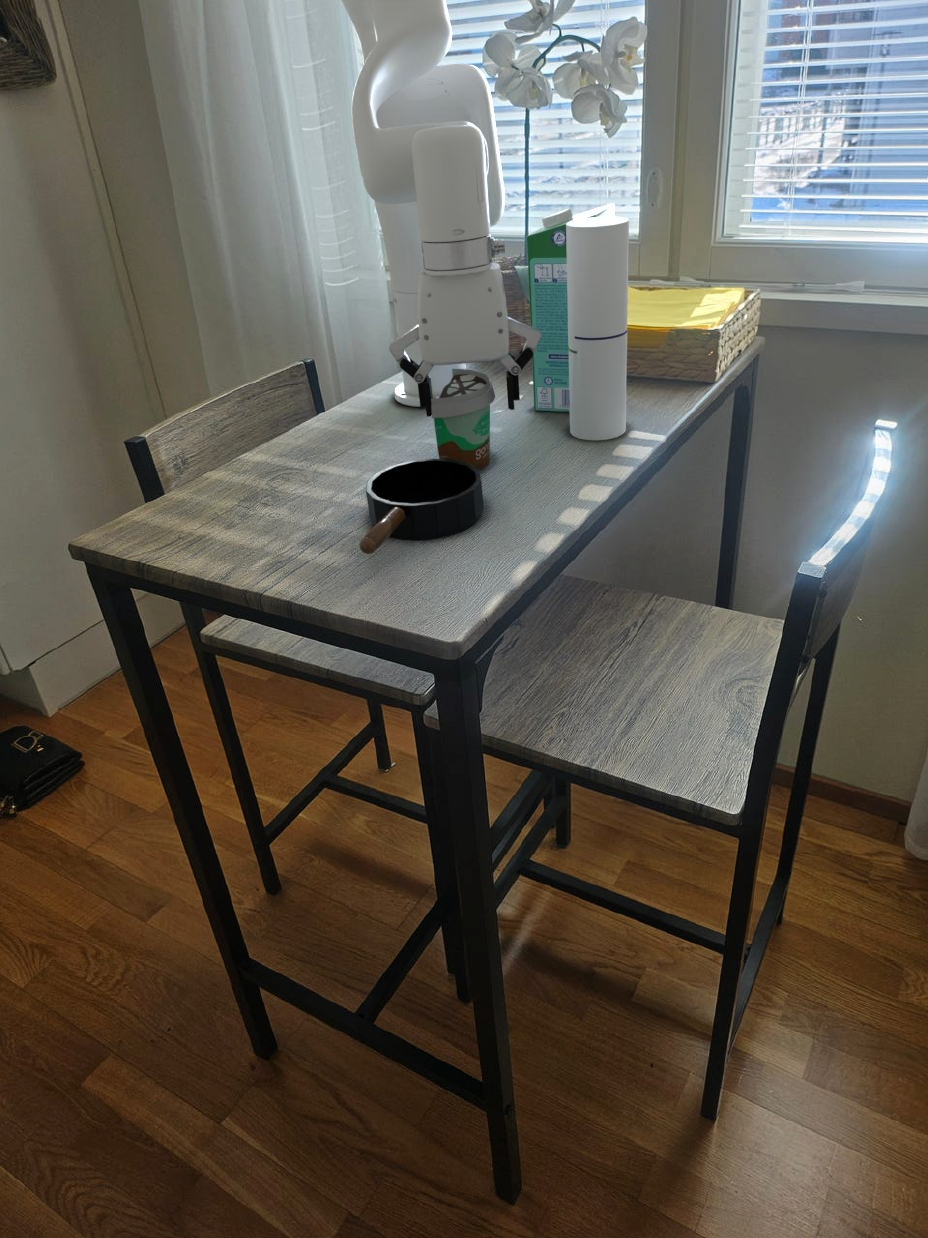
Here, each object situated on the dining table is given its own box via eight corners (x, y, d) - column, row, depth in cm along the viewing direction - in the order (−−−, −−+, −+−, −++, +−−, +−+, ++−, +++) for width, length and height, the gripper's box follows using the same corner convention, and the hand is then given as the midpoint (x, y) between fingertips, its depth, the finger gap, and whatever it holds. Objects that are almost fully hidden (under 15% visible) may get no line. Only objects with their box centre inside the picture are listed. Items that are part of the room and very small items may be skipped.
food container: (490, 483, 103) (483, 399, 97) (438, 482, 104) (430, 400, 99) (506, 443, 113) (502, 366, 107) (459, 444, 114) (453, 367, 109)
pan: (400, 487, 104) (395, 455, 102) (499, 495, 99) (496, 461, 97) (313, 571, 88) (306, 535, 86) (427, 585, 83) (422, 547, 81)
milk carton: (553, 389, 129) (547, 204, 116) (613, 392, 126) (614, 201, 113) (533, 410, 123) (525, 215, 109) (597, 414, 119) (596, 213, 106)
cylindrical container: (604, 444, 110) (605, 228, 96) (558, 433, 114) (553, 225, 101) (636, 426, 114) (641, 217, 101) (591, 417, 118) (590, 215, 105)
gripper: (535, 243, 98) (542, 394, 107) (382, 257, 99) (401, 406, 108) (538, 253, 92) (545, 413, 100) (374, 268, 93) (395, 425, 101)
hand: (470, 409), depth 104 cm, fingers open, 9 cm apart
